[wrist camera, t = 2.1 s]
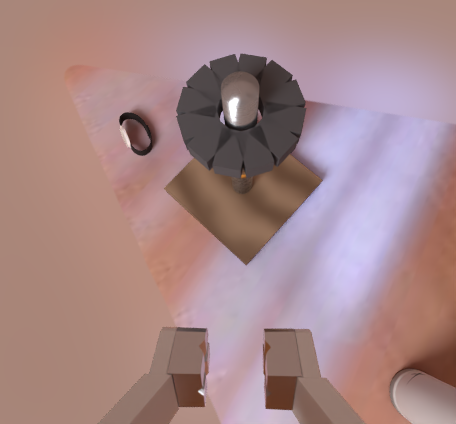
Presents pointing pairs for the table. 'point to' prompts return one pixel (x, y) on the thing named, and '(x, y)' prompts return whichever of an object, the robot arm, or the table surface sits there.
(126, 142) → the watch
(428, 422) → the travel mug
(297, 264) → the table surface
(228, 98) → the metallic rounded rod
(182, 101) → the grey gear
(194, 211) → the stand
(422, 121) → the table surface
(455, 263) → the table surface
